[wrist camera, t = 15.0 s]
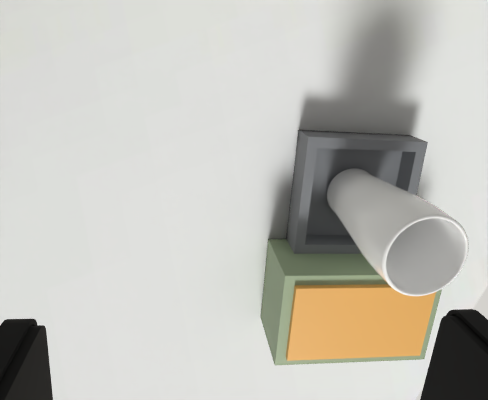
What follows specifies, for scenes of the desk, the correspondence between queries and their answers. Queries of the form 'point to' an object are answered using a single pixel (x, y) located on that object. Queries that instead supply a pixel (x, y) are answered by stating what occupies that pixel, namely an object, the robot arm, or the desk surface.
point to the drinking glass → (399, 232)
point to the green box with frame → (340, 263)
